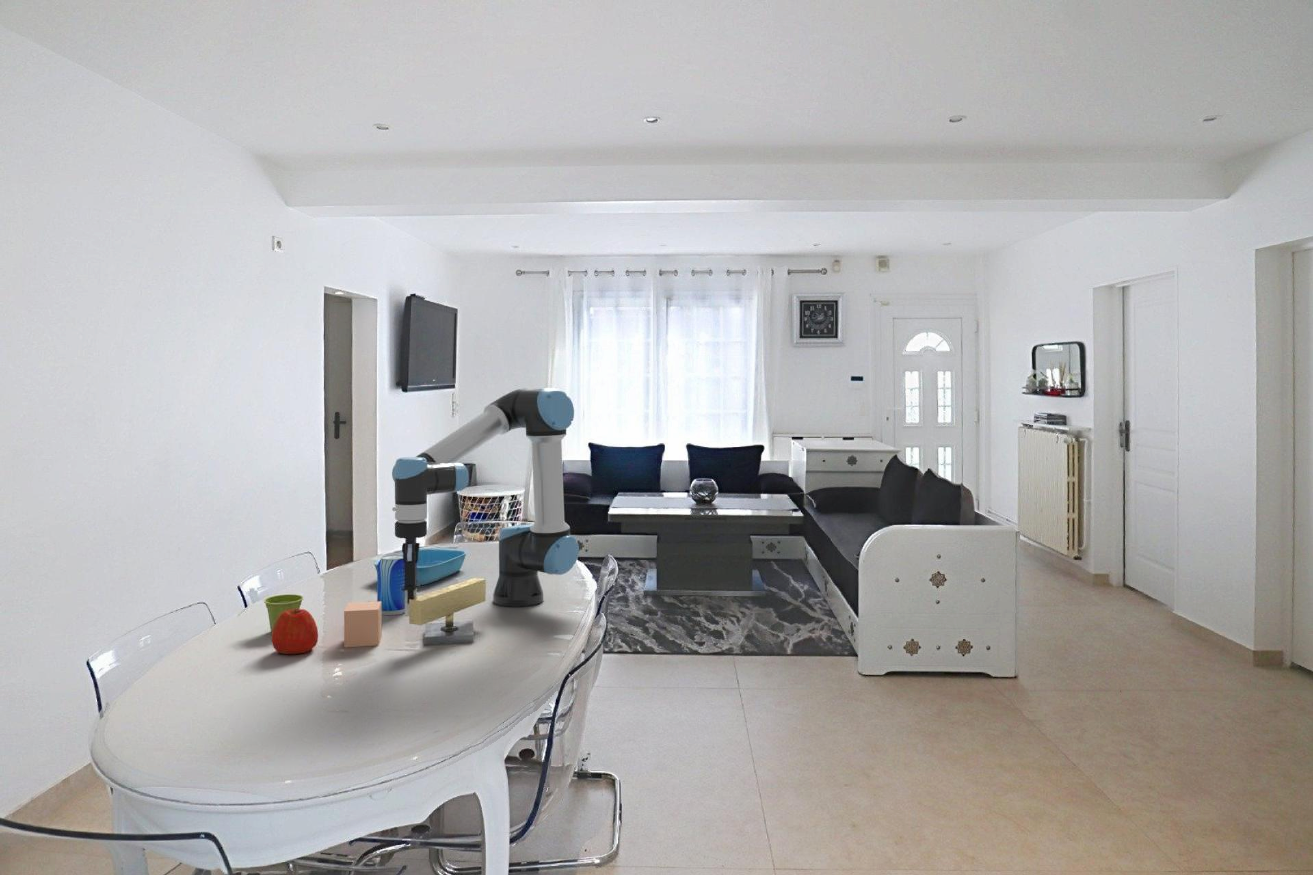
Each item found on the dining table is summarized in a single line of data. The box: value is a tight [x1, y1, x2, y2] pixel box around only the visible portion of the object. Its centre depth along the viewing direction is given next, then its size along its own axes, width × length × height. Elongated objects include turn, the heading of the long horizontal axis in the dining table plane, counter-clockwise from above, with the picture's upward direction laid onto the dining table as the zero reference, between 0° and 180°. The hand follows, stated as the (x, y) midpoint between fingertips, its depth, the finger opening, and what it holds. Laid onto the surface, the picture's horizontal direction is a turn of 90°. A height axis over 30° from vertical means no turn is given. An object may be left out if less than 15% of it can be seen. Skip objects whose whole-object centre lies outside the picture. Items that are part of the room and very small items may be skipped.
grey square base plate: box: [423, 620, 475, 646], centre depth 205 cm, size 12×12×2 cm
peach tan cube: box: [343, 601, 383, 648], centre depth 200 cm, size 8×8×9 cm
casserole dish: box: [373, 548, 468, 586], centre depth 273 cm, size 37×22×7 cm, turn 167°
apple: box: [271, 608, 319, 655], centre depth 192 cm, size 10×10×10 cm
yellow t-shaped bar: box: [408, 577, 487, 628], centre depth 205 cm, size 26×4×10 cm, turn 156°
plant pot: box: [263, 593, 304, 634], centre depth 208 cm, size 9×9×9 cm
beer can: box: [376, 554, 405, 616], centre depth 227 cm, size 8×8×16 cm
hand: (410, 615), depth 196 cm, fingers closed
